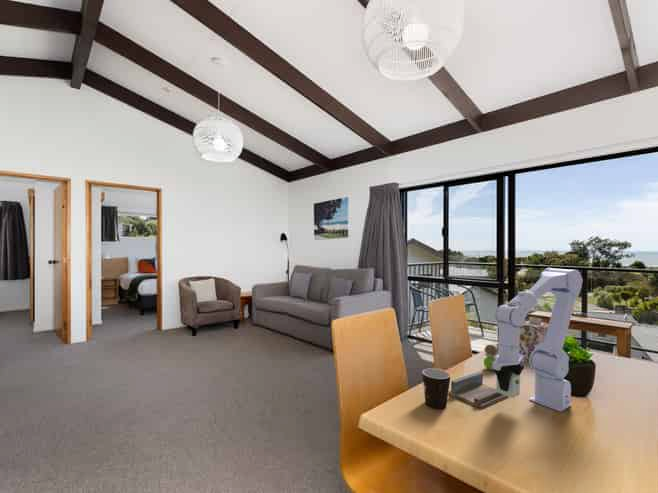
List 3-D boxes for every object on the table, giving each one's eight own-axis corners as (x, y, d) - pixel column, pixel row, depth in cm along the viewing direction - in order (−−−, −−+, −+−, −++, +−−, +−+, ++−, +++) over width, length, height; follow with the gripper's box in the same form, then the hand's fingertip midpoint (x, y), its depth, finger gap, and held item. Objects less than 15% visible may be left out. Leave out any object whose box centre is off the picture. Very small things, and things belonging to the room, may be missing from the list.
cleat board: (508, 396, 115) (509, 382, 115) (481, 409, 106) (481, 393, 106) (476, 384, 125) (476, 370, 125) (448, 394, 116) (448, 380, 116)
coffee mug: (425, 396, 115) (426, 366, 115) (452, 402, 110) (453, 371, 110) (415, 410, 105) (416, 378, 105) (444, 418, 100) (445, 384, 100)
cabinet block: (521, 395, 104) (521, 376, 104) (514, 398, 102) (515, 378, 102) (503, 388, 109) (503, 370, 109) (496, 391, 106) (496, 372, 106)
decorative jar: (525, 352, 164) (526, 314, 164) (553, 358, 155) (554, 319, 155) (515, 357, 156) (516, 318, 156) (543, 364, 147) (544, 322, 147)
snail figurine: (503, 372, 137) (503, 342, 137) (487, 372, 137) (487, 342, 137) (496, 367, 143) (497, 339, 142) (481, 367, 143) (481, 338, 143)
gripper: (508, 338, 113) (507, 379, 113) (483, 345, 104) (482, 389, 105) (530, 343, 107) (530, 386, 107) (506, 351, 99) (505, 397, 99)
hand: (508, 388), depth 105 cm, fingers closed on cabinet block, 4 cm apart
